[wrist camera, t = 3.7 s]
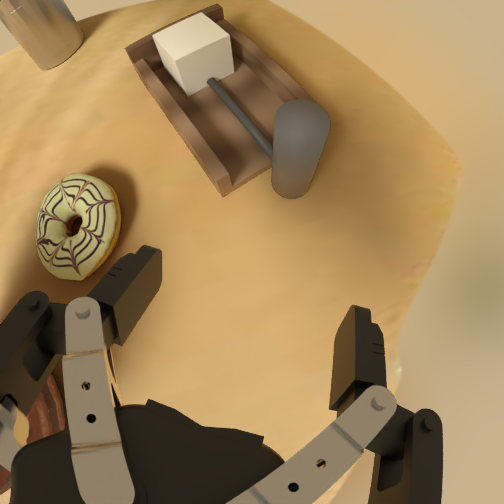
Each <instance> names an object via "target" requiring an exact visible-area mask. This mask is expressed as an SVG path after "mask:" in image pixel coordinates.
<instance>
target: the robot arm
mask: <svg viewBox="0 0 504 504" xmlns="http://www.w3.org/2000/svg"><path fill="white" fill-rule="evenodd" d="M0 20H1V21H2V23H3V24H4V25H5V26H6V28H7V29H8V30H9V31H10V33H11V34H12V35H13V36H14V37H15V39H16V40H17V41H18V42H19V43H20V45H21V46H22V47H23V48H24V50H25V51H26V52H27V53H28V54H29V56H30V57H31V58H32V59H33V60H34V62H35V63H36V64H37V65H38V66H39V67H40V69H43V70H47V69H51V68H53V67H55V66H57V65H59V64H61V63H62V62H64V61H65V60H66V59H68V58H69V57H70V56H71V55H72V54H73V53H74V52H75V51H76V50H77V49H78V48H79V46H80V45H81V43H82V41H83V39H84V34H83V32H82V31H81V29H80V27H79V26H78V24H77V22H76V20H75V19H74V17H73V15H72V14H71V12H70V10H69V9H68V7H67V5H66V4H65V2H64V0H0ZM161 282H162V251H161V250H160V249H157V248H153V247H150V246H147V245H143V246H142V247H141V248H140V249H139V250H138V251H137V252H136V254H132V253H129V254H127V255H125V256H123V257H122V258H120V259H119V260H118V261H117V262H116V263H115V264H114V265H113V268H111V269H110V270H109V271H108V272H107V274H106V275H105V276H104V277H103V278H102V279H101V280H100V281H99V283H98V284H97V285H96V286H95V287H94V288H93V290H92V291H91V292H90V293H89V294H88V295H87V297H80V298H76V299H74V300H73V301H71V302H70V303H69V304H58V303H51V302H50V301H49V299H48V296H47V295H46V294H45V293H43V292H41V291H33V292H30V293H28V294H26V295H25V296H23V298H22V299H21V300H20V301H19V302H18V303H17V305H16V306H15V307H14V308H13V310H12V311H11V312H10V313H9V314H8V316H7V317H6V318H5V320H4V321H3V322H2V323H1V325H0V465H2V466H3V467H4V468H6V469H7V470H8V471H10V472H11V497H10V503H9V504H312V503H313V502H315V501H316V500H317V499H318V498H319V497H320V496H321V495H322V494H323V493H325V492H326V491H327V490H328V489H329V488H330V487H331V486H332V485H333V484H334V483H335V482H336V481H337V480H338V479H339V478H340V477H341V476H342V475H343V474H344V473H345V472H346V471H347V470H348V469H349V468H350V467H351V466H352V465H353V464H354V463H355V462H356V461H357V460H358V459H359V458H360V457H361V455H362V454H363V453H364V451H363V450H364V449H368V450H370V451H372V452H374V453H375V459H374V467H373V474H372V482H371V488H370V494H369V500H368V504H441V497H442V478H443V476H442V475H443V433H442V422H441V419H440V418H439V416H438V415H437V413H435V412H434V411H433V410H431V409H421V410H419V411H418V412H416V413H413V412H411V411H409V410H407V409H405V408H403V407H401V406H399V405H398V404H397V403H396V399H395V397H394V395H393V394H392V392H391V391H390V390H388V389H387V383H386V365H385V356H384V354H385V350H384V338H383V333H382V331H381V329H380V327H379V326H378V324H375V323H371V311H370V309H367V308H364V307H360V306H356V305H352V306H351V307H350V309H349V310H348V312H347V314H346V316H345V318H344V320H343V321H342V323H341V325H340V327H339V328H338V331H337V333H336V337H335V341H334V356H333V370H332V382H331V393H330V403H329V410H334V411H337V419H336V420H335V421H334V422H332V423H331V424H330V425H329V426H328V427H327V428H326V429H325V430H323V431H322V432H321V433H320V434H319V435H318V436H317V437H315V438H314V439H313V440H312V441H311V442H310V443H308V444H307V445H306V446H305V447H304V448H302V449H301V450H300V451H299V452H298V453H296V454H295V455H294V456H293V457H291V458H290V459H289V460H288V461H286V462H285V461H284V460H283V459H282V458H281V456H280V455H279V454H278V453H276V452H275V451H274V450H273V449H271V448H270V447H268V446H267V445H265V444H263V439H264V436H260V435H256V434H252V433H249V432H245V431H241V430H238V429H231V428H216V427H205V426H201V425H199V424H198V423H196V422H194V421H193V420H191V419H190V418H188V417H187V416H185V415H183V414H182V413H180V412H179V411H177V410H176V409H173V408H171V407H168V406H166V405H163V404H160V403H158V402H155V401H153V400H150V399H148V401H147V403H146V405H140V404H131V405H123V403H122V399H121V396H120V393H119V389H118V384H117V379H116V374H115V369H114V363H113V357H112V351H111V348H110V347H111V345H112V344H113V342H114V343H116V344H118V345H120V346H122V345H123V344H124V342H125V341H126V339H127V337H128V336H129V334H130V333H131V331H132V330H133V328H134V327H135V325H136V324H137V322H138V320H139V319H140V317H141V316H142V314H143V313H144V311H145V310H146V308H147V307H148V305H149V304H150V302H151V301H152V299H153V298H154V296H155V295H156V293H157V292H158V290H159V288H160V285H161ZM62 355H63V358H62V366H63V380H64V391H65V401H66V409H67V417H68V424H69V428H67V429H64V430H62V431H60V432H57V433H54V434H52V435H49V436H47V437H44V438H42V439H39V440H36V441H34V442H31V443H28V444H27V443H26V439H27V438H28V436H29V432H28V431H29V422H28V419H27V415H28V413H29V411H30V409H31V408H32V406H33V404H34V402H35V400H36V399H37V397H38V395H39V393H40V392H41V390H42V388H43V386H44V385H45V383H46V381H47V380H48V378H49V376H50V374H51V373H52V371H53V370H54V368H55V366H56V365H57V363H58V361H59V360H60V358H61V357H62Z"/></svg>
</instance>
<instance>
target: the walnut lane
mask: <svg viewBox="0 0 504 504" xmlns="http://www.w3.org/2000/svg"><path fill="white" fill-rule="evenodd" d="M201 12H202V13H203V14H204V15H206V16H207V17H208V18H209V19H211V20H212V21H213V22H214V23H216V24H217V25H218V26H219V27H221V28H222V29H223V30H224V31H225V32H227V33H228V34H229V35H230V42H231V49H232V57H233V65H234V73H233V74H231V75H229V76H227V77H225V78H223V79H221V80H219V81H217V82H218V83H219V84H220V85H221V86H222V87H223V88H224V89H225V90H226V91H227V93H228V94H229V95H230V96H231V97H232V98H233V99H234V100H235V102H236V103H237V104H238V105H239V106H240V107H241V108H242V110H243V111H244V112H245V113H246V114H247V115H248V116H249V118H250V119H251V120H252V121H253V122H254V124H255V125H256V126H257V127H258V128H259V129H260V131H261V132H262V133H263V134H264V135H265V137H266V138H267V139H268V140H269V141H270V143H271V144H272V145H273V139H274V119H275V114H276V111H277V110H278V108H279V107H280V106H281V105H282V104H284V103H286V102H288V101H290V100H295V99H304V100H309V101H312V102H315V100H314V99H313V98H312V97H311V96H310V95H309V94H308V93H307V92H306V91H305V90H304V89H303V88H302V87H301V86H300V85H299V84H298V83H297V82H296V81H295V80H294V79H293V78H292V77H290V76H289V75H288V74H287V73H286V72H285V71H284V70H283V69H282V68H281V67H280V66H279V65H278V64H277V63H276V62H274V61H273V60H272V59H271V58H270V57H269V56H268V55H267V54H266V53H264V52H263V51H262V50H261V49H260V48H259V47H258V46H256V45H255V44H254V43H253V42H252V41H251V40H249V39H248V38H247V37H246V36H245V35H243V34H242V33H241V32H240V31H239V30H237V29H236V28H235V27H234V26H232V25H231V24H230V23H228V22H227V21H226V20H225V19H224V15H223V8H222V7H221V6H220V5H219V4H215V5H212V6H210V7H207V8H205V9H202V10H200V11H198V12H195V13H193V14H191V15H188V16H186V17H184V18H182V19H179V20H177V21H175V22H173V23H171V24H169V25H167V26H165V27H163V28H161V29H159V30H157V31H155V32H153V33H151V34H149V35H147V36H145V37H144V38H142V39H140V40H138V41H136V42H135V43H133V44H131V45H129V46H128V47H126V48H125V50H126V52H127V54H128V56H129V58H130V59H131V61H132V63H133V65H134V67H135V69H136V71H137V73H138V75H139V77H140V79H141V80H142V82H143V83H144V85H145V86H146V88H147V89H148V90H149V92H150V93H151V95H152V96H153V98H154V99H155V101H156V102H157V103H158V105H159V106H160V108H161V109H162V111H163V112H164V113H165V115H166V116H167V118H168V119H169V121H170V122H171V123H172V125H173V126H174V128H175V129H176V131H177V132H178V134H179V135H180V136H181V138H182V139H183V141H184V142H185V144H186V145H187V147H188V148H189V149H190V151H191V152H192V154H193V155H194V157H195V158H196V160H197V161H198V162H199V164H200V165H201V167H202V168H203V170H204V171H205V173H206V174H207V176H208V177H209V178H210V180H211V181H212V183H213V184H214V186H215V187H216V189H217V190H218V191H219V193H220V194H221V196H222V197H224V196H226V195H227V194H229V193H231V192H232V191H234V190H235V189H237V188H238V187H240V186H242V185H243V184H245V183H246V182H248V181H250V180H251V179H253V178H255V177H256V176H258V175H259V174H261V173H263V172H264V171H266V170H268V169H269V168H271V167H272V161H271V160H270V158H269V157H268V156H267V154H266V153H265V152H264V151H263V149H262V148H261V147H260V146H259V144H258V143H257V142H256V141H255V140H254V138H253V137H252V136H251V135H250V133H249V132H248V131H247V130H246V129H245V127H244V126H243V125H242V124H241V123H240V121H239V120H238V119H237V118H236V117H235V115H234V114H233V113H232V112H231V111H230V109H229V108H228V107H227V106H226V105H225V104H224V102H223V101H222V100H221V99H220V98H219V97H218V96H217V94H216V93H215V92H214V91H213V90H212V89H211V88H210V86H207V87H205V88H203V89H201V90H200V91H198V92H196V93H194V94H192V95H191V96H189V97H187V95H186V94H185V93H184V92H183V90H182V89H181V88H180V87H179V85H178V84H177V83H176V82H175V81H174V79H173V78H172V77H171V76H170V74H169V73H168V72H167V71H166V69H165V67H164V64H163V62H162V59H161V57H160V54H159V52H158V49H157V47H156V44H155V42H154V39H153V37H152V35H154V34H156V33H158V32H160V31H161V30H163V29H165V28H168V27H170V26H172V25H174V24H176V23H178V22H180V21H182V20H184V19H187V18H189V17H191V16H193V15H196V14H198V13H201ZM315 103H316V102H315Z"/></svg>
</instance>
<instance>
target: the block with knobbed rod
mask: <svg viewBox="0 0 504 504" xmlns="http://www.w3.org/2000/svg"><path fill="white" fill-rule="evenodd" d="M152 37H153V39H154V42H155V44H156V47H157V49H158V52H159V54H160V57H161V59H162V62H163V64H164V67H165V69H166V71H167V72H168V73H169V74H170V76H171V77H172V78H173V79H174V81H175V82H176V83H177V84H178V85H179V87H180V88H181V89H182V90H183V92H184V93H185V94H186V95H187V97H189V96H191V95H192V94H194V93H196V92H198V91H200V90H201V89H203V88H205V87H207V86H210V88H211V89H212V90H213V91H214V92H215V93H216V94H217V96H218V97H219V98H220V99H221V100H222V101H223V102H224V104H225V105H226V106H227V107H228V108H229V109H230V111H231V112H232V113H233V114H234V115H235V117H236V118H237V119H238V120H239V121H240V123H241V124H242V125H243V126H244V127H245V129H246V130H247V131H248V132H249V133H250V135H251V136H252V137H253V138H254V140H255V141H256V142H257V143H258V144H259V146H260V147H261V148H262V149H263V151H264V152H265V153H266V154H267V156H268V157H269V158H270V160H271V161H272V177H271V182H272V186H273V188H274V190H275V191H276V192H277V193H278V194H279V195H280V196H282V197H284V198H288V199H295V198H299V197H301V196H303V195H304V194H305V193H306V192H307V191H308V189H309V187H310V184H311V181H312V178H313V176H314V173H315V170H316V167H317V165H318V162H319V159H320V156H321V153H322V151H323V148H324V145H325V142H326V139H327V137H328V134H329V131H330V127H331V122H330V118H329V115H328V114H327V112H326V111H325V110H324V109H323V108H322V107H321V106H320V105H318V104H317V103H315V102H312V101H309V100H304V99H295V100H290V101H288V102H286V103H284V104H282V105H281V106H280V107H279V108H278V110H277V111H276V114H275V119H274V139H273V145H272V144H271V143H270V141H269V140H268V139H267V138H266V137H265V135H264V134H263V133H262V132H261V131H260V129H259V128H258V127H257V126H256V125H255V124H254V122H253V121H252V120H251V119H250V118H249V116H248V115H247V114H246V113H245V112H244V111H243V110H242V108H241V107H240V106H239V105H238V104H237V103H236V102H235V100H234V99H233V98H232V97H231V96H230V95H229V94H228V93H227V91H226V90H225V89H224V88H223V87H222V86H221V85H220V84H219V83H218V82H217V81H219V80H221V79H223V78H225V77H227V76H229V75H231V74H233V73H234V65H233V57H232V49H231V42H230V35H229V34H228V33H227V32H225V31H224V30H223V29H222V28H221V27H219V26H218V25H217V24H216V23H214V22H213V21H212V20H211V19H209V18H208V17H207V16H206V15H204V14H203V13H202V12H201V13H198V14H196V15H193V16H191V17H189V18H187V19H184V20H182V21H180V22H178V23H176V24H174V25H172V26H170V27H168V28H165V29H163V30H161V31H160V32H158V33H156V34H154V35H152Z"/></svg>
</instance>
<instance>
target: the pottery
mask: <svg viewBox="0 0 504 504" xmlns="http://www.w3.org/2000/svg"><path fill="white" fill-rule="evenodd" d="M27 419H28V422H29V431H28V432H29V436H28V438H27V439H26V443H27V444H28V443H31V442H34V441H36V440H39V439H42V438H44V437H47V436H49V435H52V434H54V433H57V432H60V431H62V430H64V429H65V423H66V421H65V414H64V408H63V401H62V397H61V394H60V391H59V389H58V386H57V383H56V381H55V379H54V377H53V375H52V374H50V376H49V378H48V380H47V381H46V383H45V385H44V386H43V388H42V390H41V392H40V393H39V395H38V397H37V399H36V400H35V402H34V404H33V406H32V408H31V409H30V411H29V413H28V415H27ZM10 488H11V472H10V471H8V470H7V469H6V468H4V467H3V466H2V465H0V495H1V494H3V493H4V492H6V491H7V490H8V489H10Z"/></svg>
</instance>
